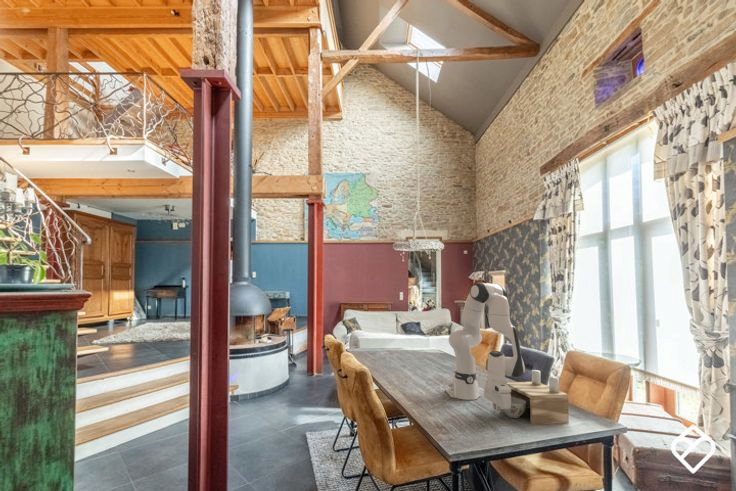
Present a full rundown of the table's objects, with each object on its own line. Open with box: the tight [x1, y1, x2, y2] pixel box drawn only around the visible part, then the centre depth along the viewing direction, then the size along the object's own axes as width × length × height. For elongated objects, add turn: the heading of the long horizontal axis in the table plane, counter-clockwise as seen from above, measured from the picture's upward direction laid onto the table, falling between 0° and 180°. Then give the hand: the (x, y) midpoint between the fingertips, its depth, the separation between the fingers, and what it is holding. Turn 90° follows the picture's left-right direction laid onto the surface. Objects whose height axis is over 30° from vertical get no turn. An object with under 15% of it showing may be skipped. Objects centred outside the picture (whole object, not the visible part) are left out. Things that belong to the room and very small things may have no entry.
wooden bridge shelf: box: [506, 381, 570, 426], centre depth 197 cm, size 24×20×14 cm
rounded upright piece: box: [531, 369, 542, 385], centre depth 206 cm, size 4×4×7 cm
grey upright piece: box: [548, 375, 560, 393], centre depth 192 cm, size 4×4×7 cm
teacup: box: [500, 397, 527, 419], centre depth 194 cm, size 15×12×8 cm
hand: (496, 412), depth 192 cm, fingers closed
